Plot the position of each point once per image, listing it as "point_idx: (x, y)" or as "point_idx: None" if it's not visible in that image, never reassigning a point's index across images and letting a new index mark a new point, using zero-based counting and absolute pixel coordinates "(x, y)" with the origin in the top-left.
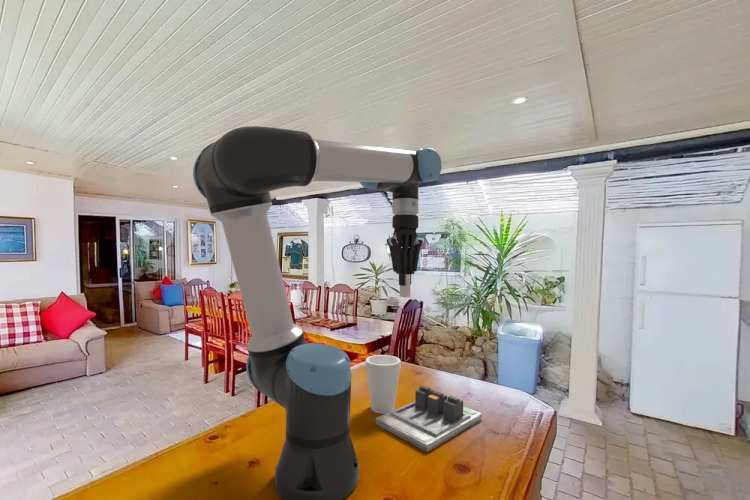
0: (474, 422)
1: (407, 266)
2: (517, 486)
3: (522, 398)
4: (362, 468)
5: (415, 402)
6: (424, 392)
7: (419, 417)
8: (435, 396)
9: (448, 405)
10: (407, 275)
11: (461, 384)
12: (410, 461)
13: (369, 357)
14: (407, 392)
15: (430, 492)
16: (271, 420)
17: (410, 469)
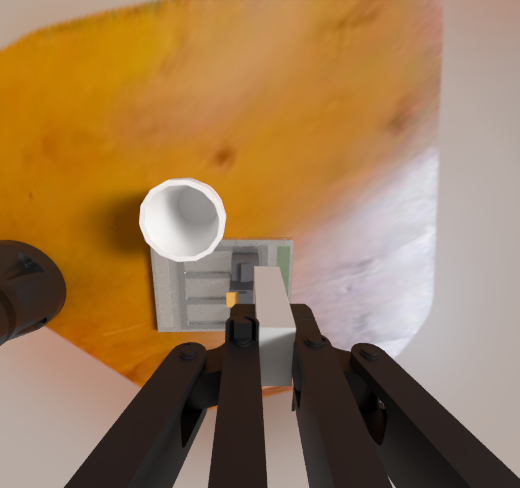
0: None
1: (302, 408)
2: None
3: (404, 328)
4: (73, 301)
5: (232, 254)
6: (237, 276)
7: (206, 281)
8: (235, 301)
9: None
10: (262, 380)
11: (396, 231)
12: (130, 325)
13: (167, 184)
14: (286, 185)
15: (111, 367)
16: (5, 105)
17: (120, 334)
